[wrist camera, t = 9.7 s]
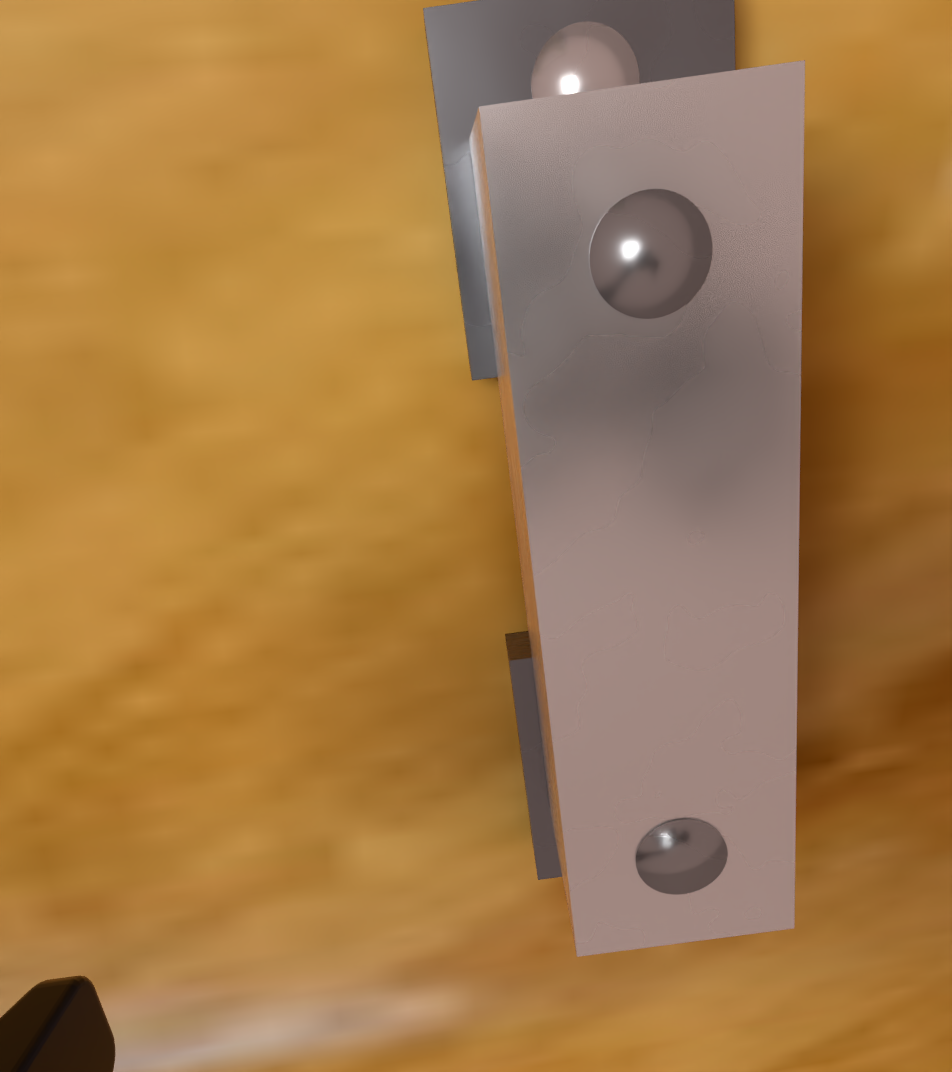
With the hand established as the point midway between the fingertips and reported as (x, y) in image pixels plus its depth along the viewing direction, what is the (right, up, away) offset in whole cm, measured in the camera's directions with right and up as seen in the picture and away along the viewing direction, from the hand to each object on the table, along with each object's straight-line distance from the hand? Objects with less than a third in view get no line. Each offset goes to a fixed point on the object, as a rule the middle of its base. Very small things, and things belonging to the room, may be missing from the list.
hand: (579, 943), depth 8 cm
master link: (+2, +4, +9) cm, 10 cm away
